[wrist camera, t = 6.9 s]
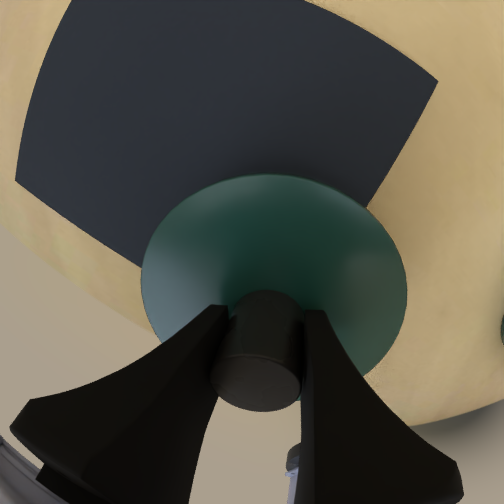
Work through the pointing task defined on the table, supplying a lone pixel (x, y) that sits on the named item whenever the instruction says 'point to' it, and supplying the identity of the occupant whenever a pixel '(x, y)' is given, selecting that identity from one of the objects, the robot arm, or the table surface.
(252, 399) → the tin lid
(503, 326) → the tin
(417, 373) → the table surface
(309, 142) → the mat
